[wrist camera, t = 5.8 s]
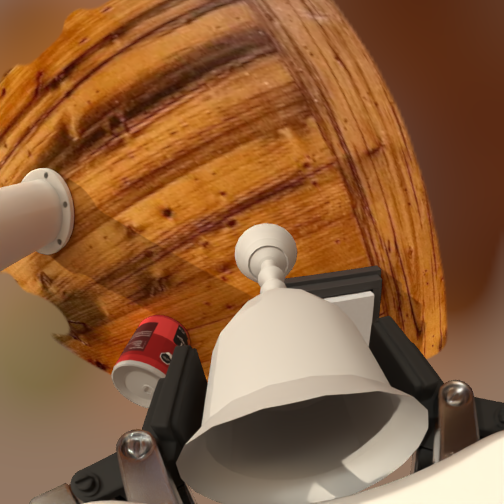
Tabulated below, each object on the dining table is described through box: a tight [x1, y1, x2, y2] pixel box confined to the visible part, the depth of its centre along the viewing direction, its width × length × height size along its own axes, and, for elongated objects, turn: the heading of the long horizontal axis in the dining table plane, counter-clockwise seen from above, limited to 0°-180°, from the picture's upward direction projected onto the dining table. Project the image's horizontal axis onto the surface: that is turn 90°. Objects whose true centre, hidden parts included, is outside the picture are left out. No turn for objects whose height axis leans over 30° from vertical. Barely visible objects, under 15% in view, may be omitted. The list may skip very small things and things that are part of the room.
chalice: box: [176, 223, 428, 504], centre depth 14 cm, size 7×7×18 cm
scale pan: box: [322, 290, 374, 347], centre depth 33 cm, size 10×10×2 cm
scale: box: [284, 266, 382, 323], centre depth 35 cm, size 14×14×3 cm
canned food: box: [112, 315, 190, 408], centre depth 32 cm, size 8×8×11 cm
